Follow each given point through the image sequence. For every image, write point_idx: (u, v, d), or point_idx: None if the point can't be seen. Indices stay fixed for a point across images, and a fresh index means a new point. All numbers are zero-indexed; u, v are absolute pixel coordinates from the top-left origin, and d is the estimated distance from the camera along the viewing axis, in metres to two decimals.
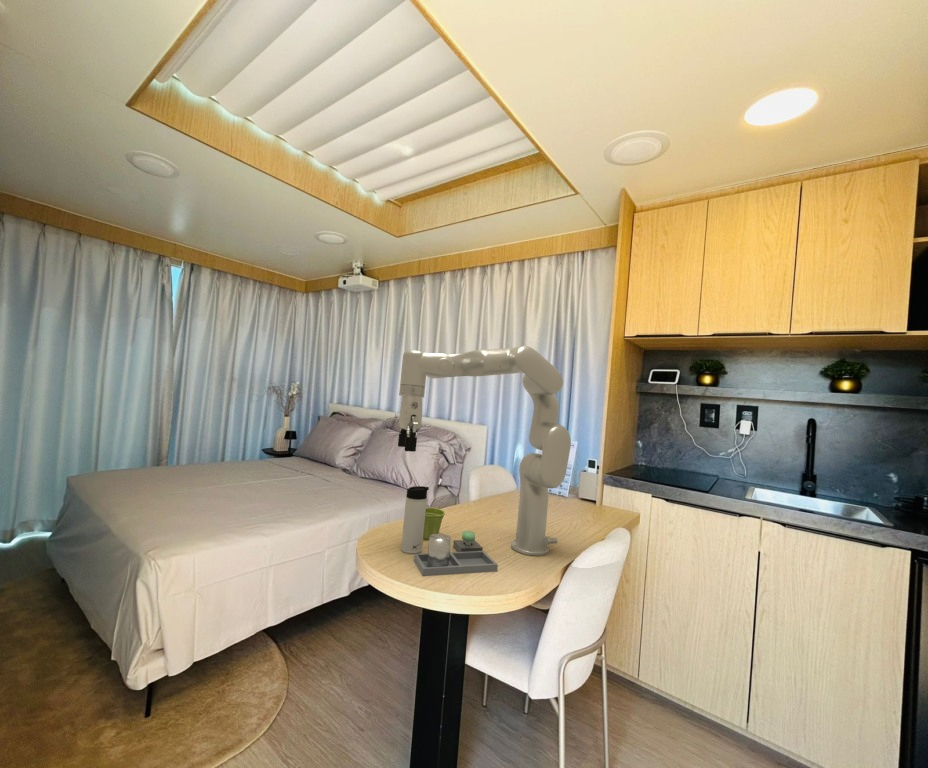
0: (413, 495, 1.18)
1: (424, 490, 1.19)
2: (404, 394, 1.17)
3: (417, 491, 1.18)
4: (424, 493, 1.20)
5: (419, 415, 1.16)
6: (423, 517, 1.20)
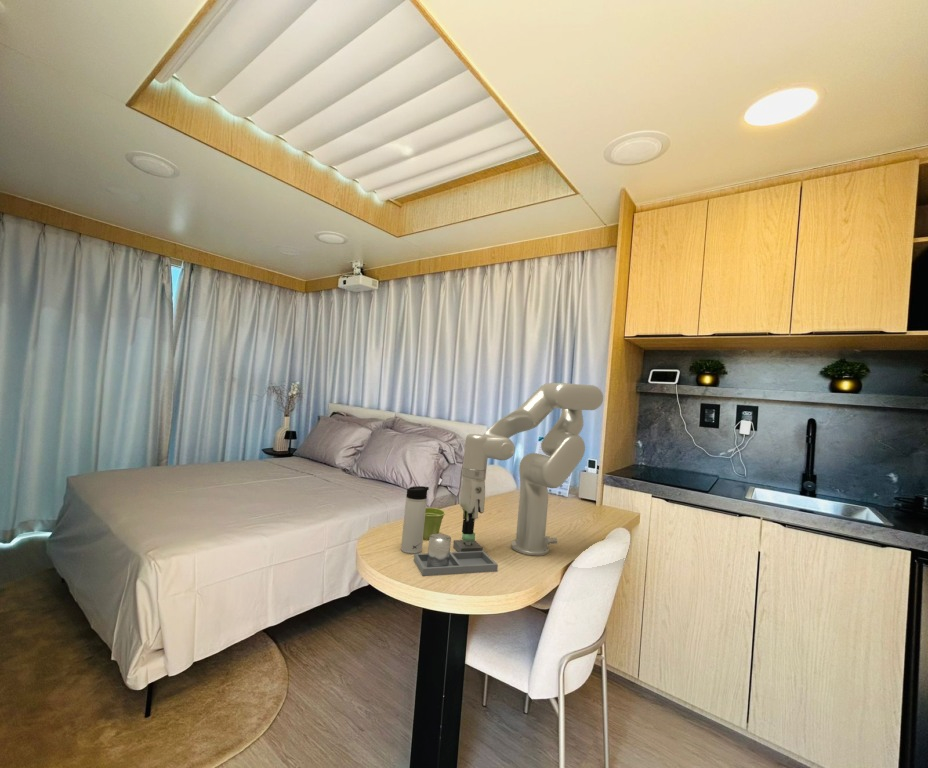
0: (413, 495, 1.18)
1: (424, 490, 1.19)
2: (468, 478, 1.22)
3: (417, 491, 1.18)
4: (424, 493, 1.20)
5: (482, 499, 1.21)
6: (423, 517, 1.20)
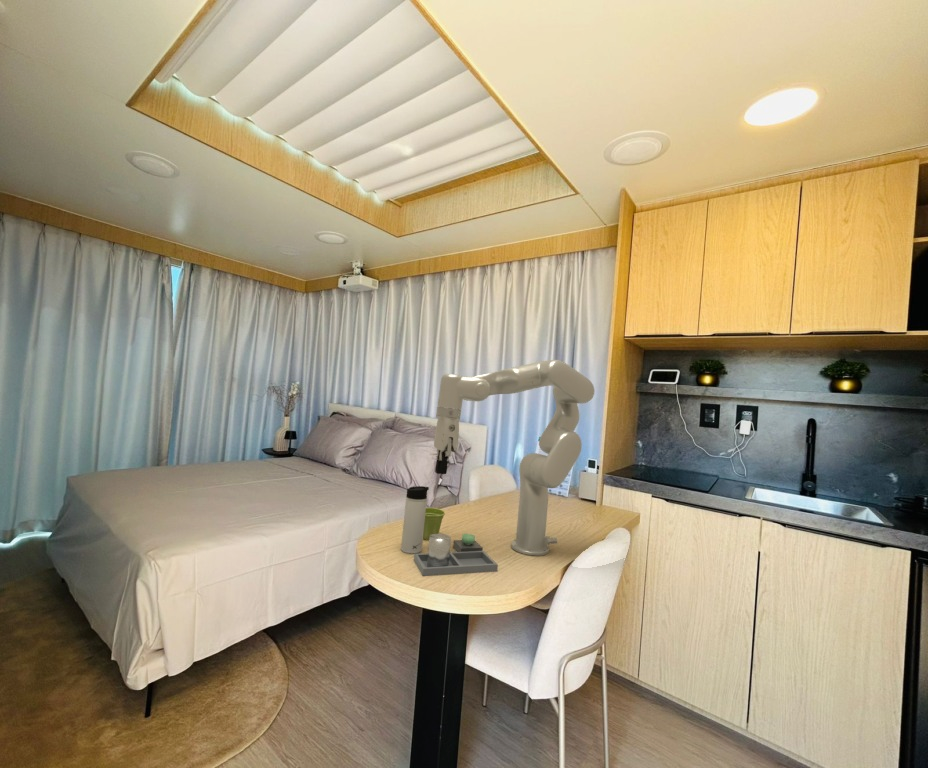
0: (413, 495, 1.18)
1: (424, 490, 1.19)
2: (442, 416, 1.20)
3: (417, 491, 1.18)
4: (424, 493, 1.20)
5: (456, 438, 1.19)
6: (423, 517, 1.20)
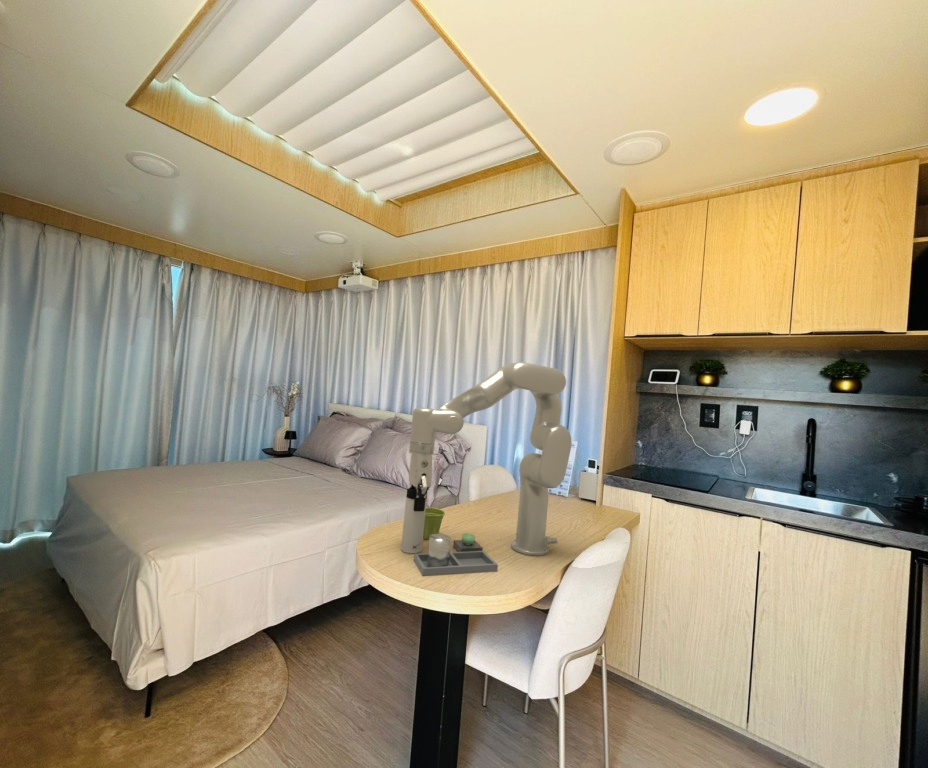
0: (413, 495, 1.18)
1: None
2: (414, 452, 1.19)
3: None
4: None
5: (429, 473, 1.18)
6: (423, 517, 1.20)
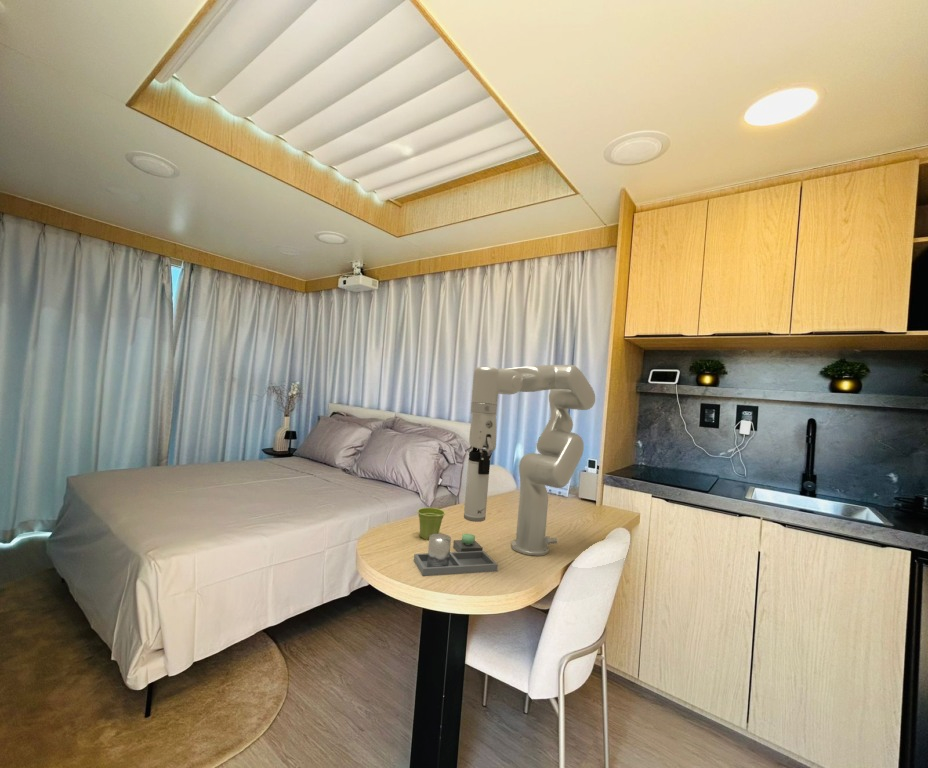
0: (476, 458, 1.13)
1: None
2: (477, 413, 1.13)
3: None
4: None
5: (494, 434, 1.12)
6: (487, 481, 1.14)
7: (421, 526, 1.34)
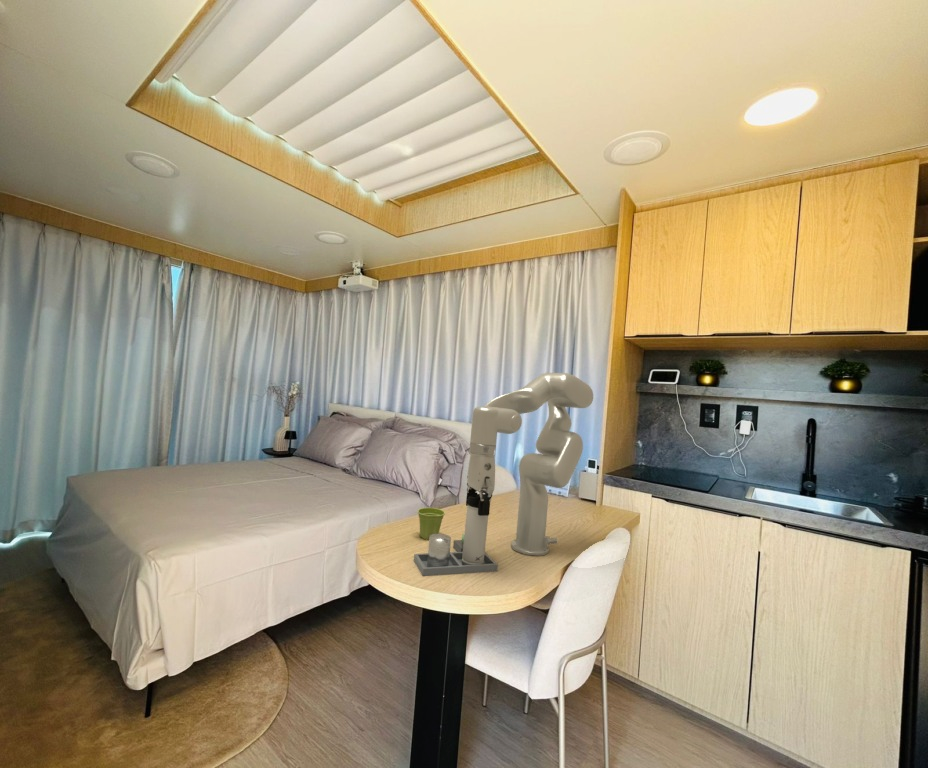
0: (476, 503, 1.12)
1: None
2: (476, 454, 1.12)
3: None
4: None
5: (492, 476, 1.11)
6: (486, 527, 1.13)
7: (421, 526, 1.34)
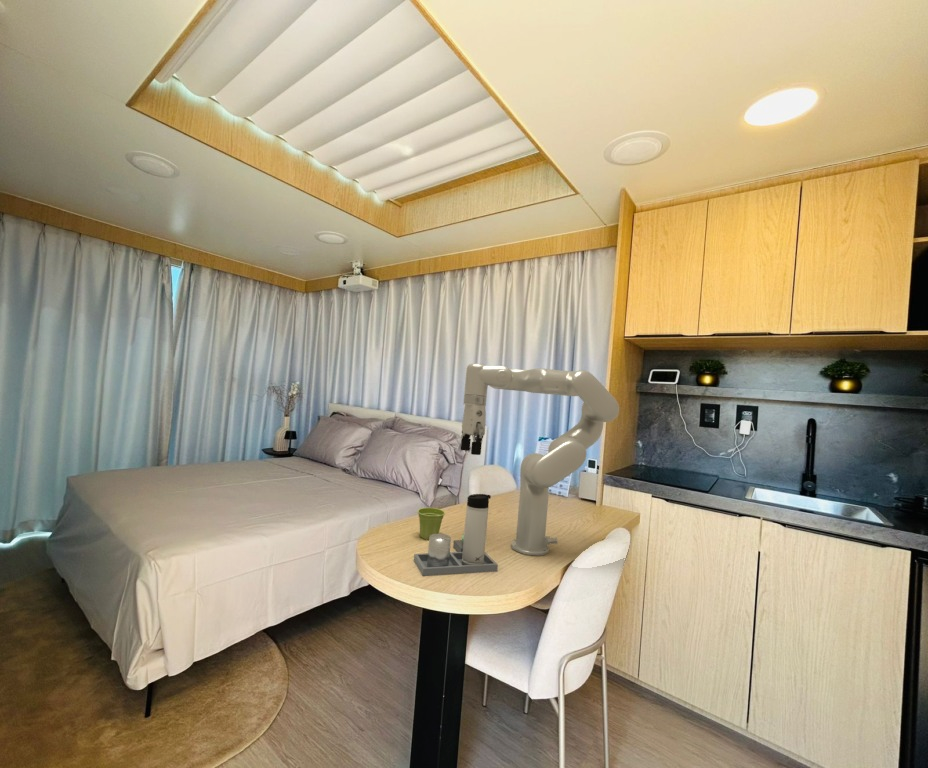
0: (475, 504, 1.12)
1: (487, 498, 1.13)
2: (469, 403, 1.30)
3: (480, 500, 1.12)
4: (487, 502, 1.13)
5: (483, 422, 1.29)
6: (485, 527, 1.13)
7: (421, 526, 1.34)
